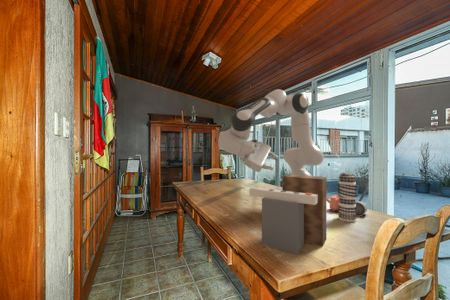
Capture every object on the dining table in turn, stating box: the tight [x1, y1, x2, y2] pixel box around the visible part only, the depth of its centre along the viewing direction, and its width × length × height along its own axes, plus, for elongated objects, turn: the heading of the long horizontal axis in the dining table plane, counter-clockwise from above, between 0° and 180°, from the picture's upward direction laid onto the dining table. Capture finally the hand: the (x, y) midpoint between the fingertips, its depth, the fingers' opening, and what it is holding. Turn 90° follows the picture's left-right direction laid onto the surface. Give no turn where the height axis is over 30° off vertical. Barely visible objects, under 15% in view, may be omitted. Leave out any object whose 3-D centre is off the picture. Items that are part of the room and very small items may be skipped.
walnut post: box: [281, 174, 327, 247], centre depth 87 cm, size 16×8×26 cm, turn 54°
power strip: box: [248, 186, 318, 205], centre depth 81 cm, size 26×4×4 cm, turn 55°
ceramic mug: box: [355, 200, 368, 217], centre depth 121 cm, size 11×8×8 cm
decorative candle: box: [337, 172, 358, 223], centre depth 111 cm, size 9×9×25 cm
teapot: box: [326, 194, 340, 212], centre depth 128 cm, size 12×12×10 cm
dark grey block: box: [261, 197, 305, 255], centre depth 81 cm, size 14×8×18 cm, turn 54°
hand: (275, 163), depth 95 cm, fingers open, 8 cm apart
